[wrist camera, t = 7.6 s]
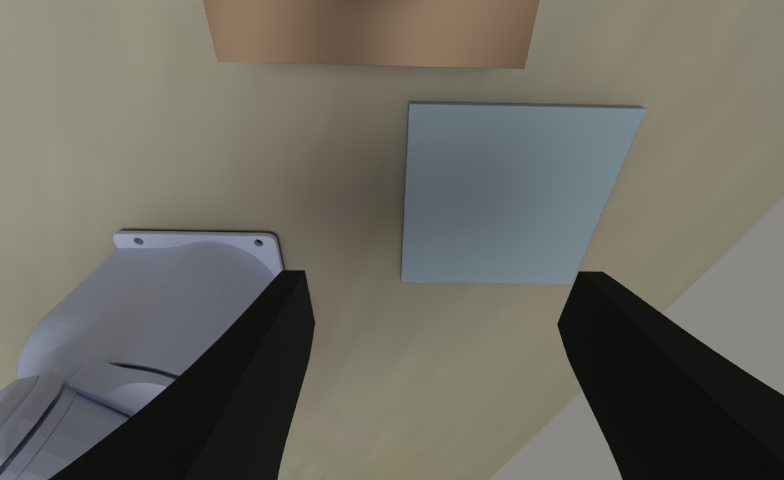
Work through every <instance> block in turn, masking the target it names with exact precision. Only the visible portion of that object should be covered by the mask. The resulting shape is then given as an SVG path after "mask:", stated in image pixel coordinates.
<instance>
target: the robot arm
mask: <svg viewBox="0 0 784 480" xmlns="http://www.w3.org/2000/svg"><path fill="white" fill-rule="evenodd" d="M139 238H140V239H142V240H143V241H142V240H140V239H139ZM257 239H258V240H261V241H262V242H263V243H259V242H258V241H257ZM113 241H114V242H115V244H116V246H117V248H118V249H117V250H116V251H115V252H114V253H113V254H112V255H111V256H110V257H109V258H107V259H106V260H105V261H104V262H103V263H102V264H101V265H100V266H99V267H98V268H97V269H96V270H94V271H93V272H92V273H91V274H90V275H89V276H88V277H87V278H86V279H85V280H84V281H83V282H81V283H80V284H79V285H78V286H77V287H76V288H75V289H74V290H73V291H72V292H71V293H70V294H69V295H67V296H66V297H65V298H64V299H63V300H62V301H61V302H60V303H59V304H58V305H57V306H56V307H54V308H53V309H52V310H51V311H50V312H49V313H48V314H47V315H46V316H45V317H44V318H43V319H42V320H41V321H40V322H39V323H38V325H37V326H36V327H35V329H34V330H33V331H32V333H31V335H30V336H29V338H28V340H27V342H26V344H25V346H24V348H23V351H22V354H21V356H20V360H19V363H18V369H17V380H15V381H14V382H12V383H11V384H9V385H8V386H7V387H5V388H4V389H3V390H2V391H0V480H277V479H278V474H279V468H280V463H281V459H282V455H283V451H284V447H285V443H286V439H287V436H288V432H289V429H290V425H291V422H292V418H293V415H294V411H295V408H296V404H297V401H298V397H299V394H300V390H301V387H302V383H303V380H304V376H305V373H306V369H307V366H308V362H309V358H310V352H311V346H312V340H313V334H314V327H315V320H314V315H313V310H312V305H311V299H310V294H309V289H308V284H307V279H306V274H305V270H283V265H282V260H281V256H280V251H279V246H278V241H277V238H276V237H275V236H274V235H272V234H270V233H238V232H177V231H118V232H117V233H116V234H114V235H113ZM557 325H558V328H559V332H560V335H561V338H562V342H563V345H564V348H565V351H566V354H567V357H568V360H569V362H570V364H571V366H572V369H573V371H574V373H575V375H576V377H577V379H578V382H579V384H580V386H581V388H582V390H583V392H584V394H585V397H586V399H587V401H588V403H589V405H590V407H591V409H592V411H593V413H594V416H595V417H596V420H597V422H598V424H599V426H600V428H601V430H602V432H603V434H604V437H605V439H606V441H607V443H608V445H609V447H610V450H611V452H612V454H613V457H614V459H615V461H616V464H617V466H618V468H619V471H620V474H621V477H622V479H623V480H784V395H782V394H780V393H779V392H777V391H775V390H774V389H772V388H771V387H769V386H767V385H766V384H764V383H763V382H761V381H759V380H758V379H756V378H755V377H753V376H752V375H750V374H749V373H747V372H745V371H744V370H742V369H741V368H739V367H738V366H736V365H735V364H733V363H732V362H730V361H729V360H727V359H726V358H724V357H723V356H721V355H720V354H718V353H717V352H715V351H713V350H712V349H711V348H709V347H708V346H707V345H705V344H704V343H702V342H701V341H699V340H697V339H696V338H695V337H694V336H692V335H691V334H689V333H688V332H686V331H685V330H683V329H682V328H681V327H679V326H678V325H677V324H675V323H674V322H672V321H671V320H669V319H668V318H667V317H666V316H664V315H663V314H661V313H660V312H659V311H657V310H656V309H655V308H653V307H652V306H650V305H649V304H648V303H646V302H645V301H644V300H642V299H641V298H639V297H638V296H637V295H635V294H634V293H633V292H631V291H630V290H628V289H627V288H626V287H624V286H623V285H622V284H620V283H619V282H617V281H616V280H614V279H613V278H611V277H610V276H608V275H607V274H605V273H604V272H578V275H577V277H576V280H575V282H574V285H573V287H572V289H571V292H570V294H569V297H568V299H567V302H566V304H565V307H564V309H563V311H562V314H561V316H560V319H559V321H558V324H557Z"/></svg>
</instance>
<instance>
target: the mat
mask: <svg viewBox="0 0 784 480" xmlns="http://www.w3.org/2000/svg"><path fill="white" fill-rule="evenodd" d="M645 111H646V108H643V107H641V106H614V105H566V104H518V103H470V102H422V101H409V113H408V135H407V156H406V178H405V200H404V222H403V243H402V265H401V282H418V283H485V284H552V285H571V284H572V281H573V279H574V277H575V274H576V272H577V270H578V267H579V265H580V263H581V260H582V258H583V256H584V253H585V251H586V249H587V246H588V244H589V242H590V239H591V237H592V235H593V232H594V230H595V228H596V225H597V223H598V221H599V218H600V216H601V214H602V211H603V209H604V207H605V204H606V202H607V200H608V197H609V195H610V193H611V190H612V188H613V186H614V183H615V181H616V179H617V176H618V174H619V172H620V169H621V167H622V165H623V162H624V160H625V158H626V155H627V153H628V151H629V148H630V146H631V144H632V141H633V139H634V137H635V134H636V132H637V130H638V127H639V125H640V123H641V120H642V118H643V116H644V113H645Z"/></svg>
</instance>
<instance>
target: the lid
mask: <svg viewBox="0 0 784 480" xmlns="http://www.w3.org/2000/svg"><path fill="white" fill-rule="evenodd" d="M203 3H204V7H205V11H206V15H207V19H208V23H209V28H210V32H211V36H212V40H213V44H214V48H215V52H216V56H217V61H218V62H252V63H295V64H339V65H382V66H425V67H469V68H512V69H524V68H525V63H526V59H527V54H528V50H529V45H530V40H531V36H532V31H533V27H534V22H535V18H536V13H537V9H538V4H539V0H203Z"/></svg>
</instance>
